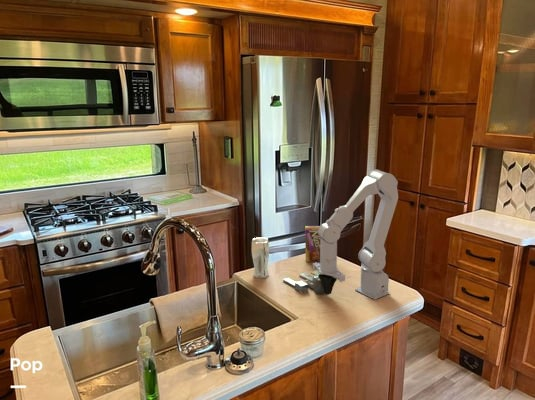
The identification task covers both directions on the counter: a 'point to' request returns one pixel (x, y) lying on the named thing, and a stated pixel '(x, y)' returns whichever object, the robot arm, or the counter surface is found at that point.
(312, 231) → the candy box
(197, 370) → the counter surface
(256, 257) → the beer glass
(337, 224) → the robot arm
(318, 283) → the grey tapered rounded piece
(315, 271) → the plate
